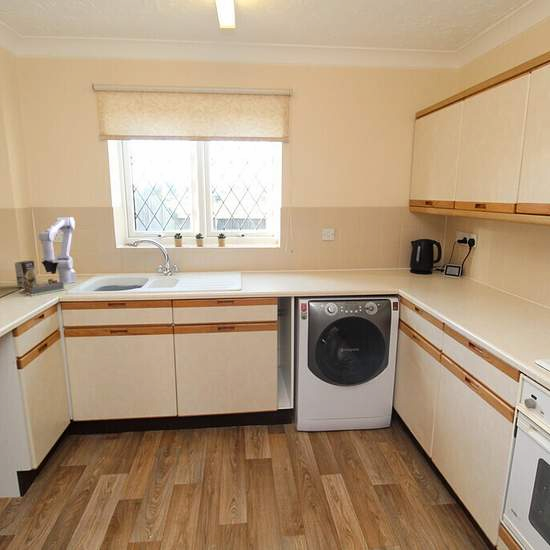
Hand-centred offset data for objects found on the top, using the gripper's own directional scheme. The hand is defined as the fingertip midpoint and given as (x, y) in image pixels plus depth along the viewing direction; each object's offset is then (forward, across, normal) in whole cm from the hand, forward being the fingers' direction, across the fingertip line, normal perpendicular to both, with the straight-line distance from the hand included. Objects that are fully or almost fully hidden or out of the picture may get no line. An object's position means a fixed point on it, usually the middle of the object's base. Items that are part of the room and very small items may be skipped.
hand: (51, 272), depth 248 cm
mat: (+10, +7, -6) cm, 14 cm away
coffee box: (+10, -19, -8) cm, 23 cm away
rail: (+9, +7, -6) cm, 13 cm away
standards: (+10, -2, -6) cm, 12 cm away
